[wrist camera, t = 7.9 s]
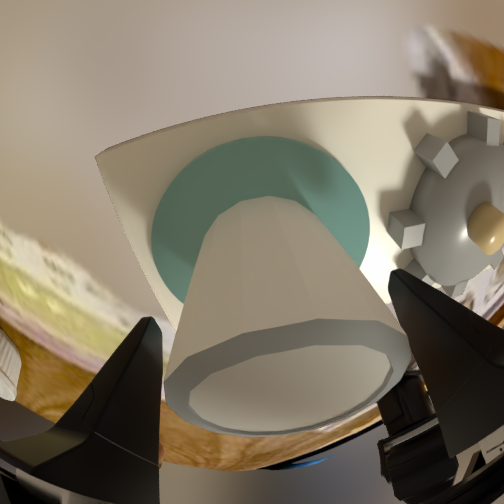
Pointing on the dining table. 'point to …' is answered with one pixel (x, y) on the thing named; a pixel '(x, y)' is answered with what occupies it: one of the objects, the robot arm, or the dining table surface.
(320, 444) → the dining table surface
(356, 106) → the gear board
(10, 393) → the ramekin
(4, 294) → the dining table surface
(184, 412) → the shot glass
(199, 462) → the dining table surface
